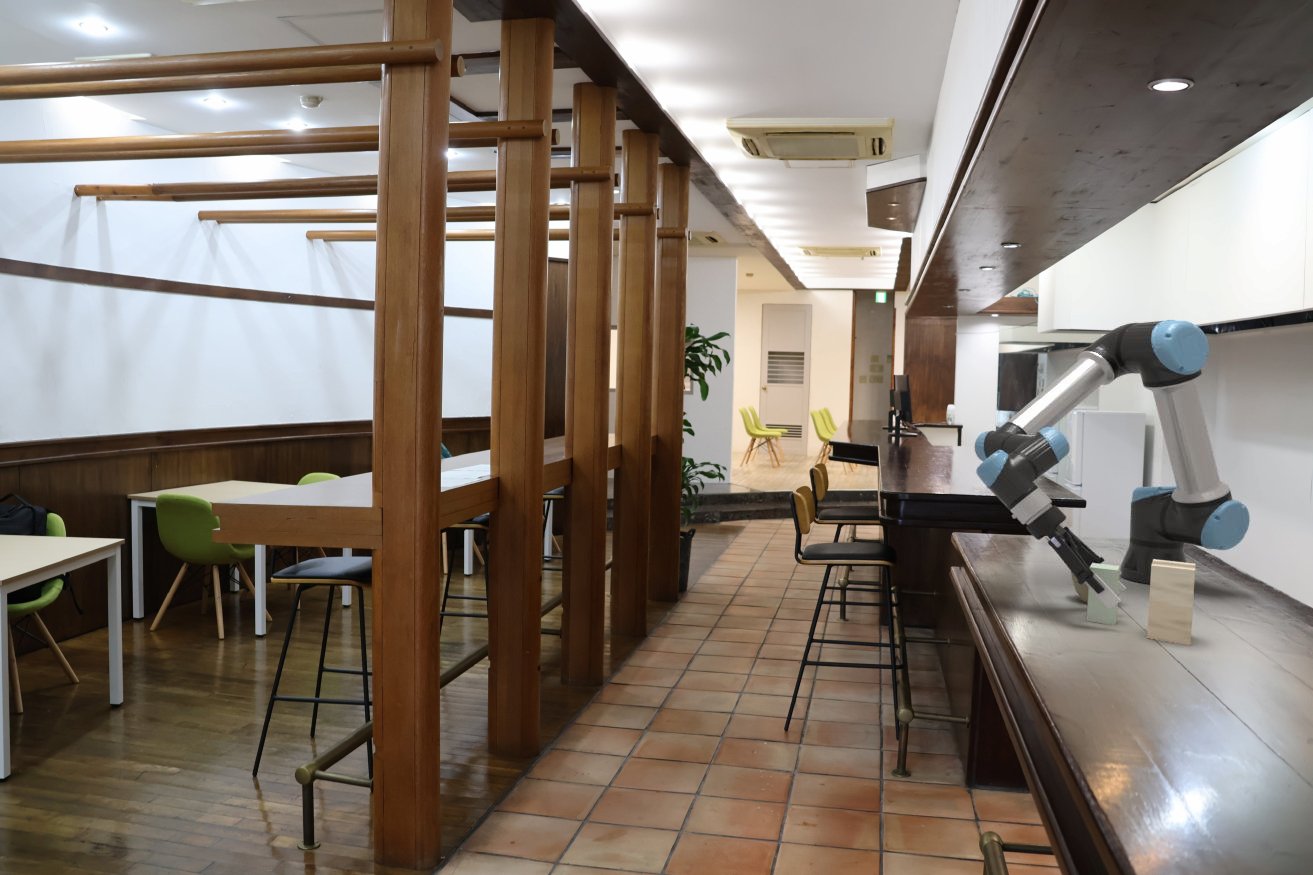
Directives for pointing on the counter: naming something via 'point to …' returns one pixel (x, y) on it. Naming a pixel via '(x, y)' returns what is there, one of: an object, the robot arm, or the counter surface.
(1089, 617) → the sage block
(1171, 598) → the tower top
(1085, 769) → the counter surface
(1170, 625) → the tower base
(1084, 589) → the flower pot
